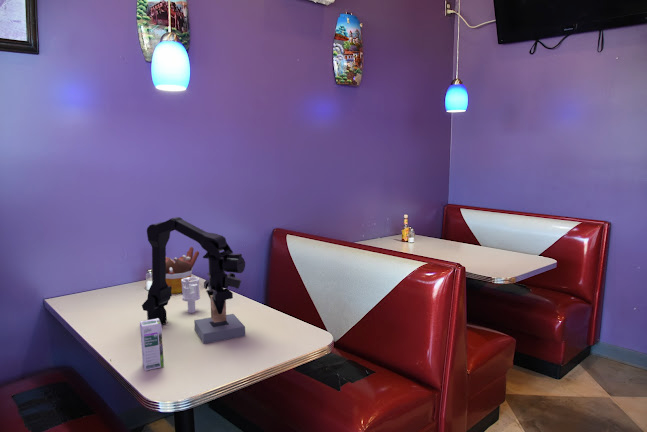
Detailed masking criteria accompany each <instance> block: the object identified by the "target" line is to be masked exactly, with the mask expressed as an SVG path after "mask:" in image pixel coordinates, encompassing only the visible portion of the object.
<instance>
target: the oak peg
mask: <svg viewBox="0 0 647 432" xmlns="http://www.w3.org/2000/svg"><path fill="white" fill-rule="evenodd" d="M212 297H213V295H210V298H209V299H210V300H209V301H210V317H211V319H212V320H213V322H214V323H215V322H221V321H226V315H227V300H225V303H224V307H223V311H222V314H218V311H217V309H216V307H215V304H214V302H213V300H212Z"/></svg>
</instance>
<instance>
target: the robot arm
mask: <svg viewBox="0 0 647 432" xmlns="http://www.w3.org/2000/svg"><path fill="white" fill-rule="evenodd" d="M174 231H176V232H177V233H180V234H182V235H184V236H185V237H187V238H190V240H193V241H194V242H196V243H198V244H199V245H200V247H201V248H202V249H203V250H204V251H205V252H206V253H205V254H204V255H203V256H202V258H203V259H208V260H207V261H208V272H207V276H208V278H209V279H205V281H204V282H203V288H204V289H205V290H206V291H205V292H206V293H207V295H208V297H209V299H210V295H213V297H212V300H213V302H214V304H215V307H216V309H217V311H218V314H222V311H223V307H224V303H225V300H226V301H227V300H232V299H233V295H234V294H233V292H232V291H231V290H230V289H229V287H231V288H235V289H238V290H239V289H240V286H241V283H242V280H241V278H239V277H237V276H236V274H242V273H243V272H244V271H245V269H246V261H245V258H244V257H243V255H242V253H234V251H233V250H232V248H231V247H230V245H229V243H227V239H226V238H225V236H223V235H222V234H218V233H213V232H209V231H208V232H207V231H205V230H203V229H201V228H199V227H197V226H195V225H194V224H192V223H190V222H188V221H186V220H184V219H183V218H182V217H180V216H177V217H176V216H175V217H172V218H169V219H168V220H166V221H162V222H161V221H160V222H156V223H151V224H150V225H148V226H147V228H146V235H147V241H148V243H149V244H150V246H151V268H152V269H151V280H152V281H151V285H150V287H149V288H148V292H147V299H146V300H145V301H144V302H143V303H142V305H141V306H142V310H143V311H145V312H146V317H147V319H146V320H151V319H156V318H159V320H160V322H161V326H162V325H166V324H167V318H168V317H167V316H168V315H167V309H165V307H166V306H167V305H169V304H168V303H169V301H170V300H171V297H173V294H171V289H172V287H171V286H168V285H167V283H166V257H167V252H166V249H167V244H168V242H169V240H170V237H171V232H174Z"/></svg>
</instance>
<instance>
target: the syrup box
mask: <svg viewBox="0 0 647 432" xmlns="http://www.w3.org/2000/svg"><path fill="white" fill-rule="evenodd" d="M139 330H140V332H139V333H140V343H141V344H140V345H141V358H142V365H143V369H144V371H145V372H147V371H150V370H155V369H160V368H164V367H165V364H164V348H163V346H164V344H163V333H162V332H163V331H162V330H163V329H162V325H161V322H160V320H159V318H156V319H151V320H147V319H146V320H141V321H139Z"/></svg>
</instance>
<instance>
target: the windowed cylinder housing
mask: <svg viewBox="0 0 647 432" xmlns="http://www.w3.org/2000/svg"><path fill="white" fill-rule="evenodd" d="M189 280H190V281H189ZM181 282H182V293H181V294H182V295H181V297H182V301H183V302H187V312H188V313H189V314H192V313H195V312H196V311H197V309H196V301H198V300H200V298H201V295H200V278H199V277H196V276H191V277H187V278H183V279H182V280H181ZM184 285H185V286H184Z"/></svg>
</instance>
